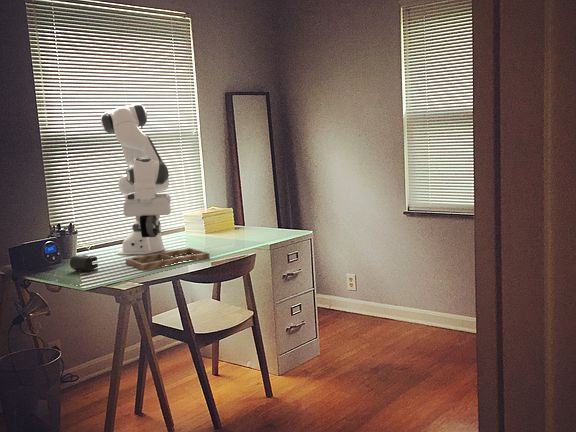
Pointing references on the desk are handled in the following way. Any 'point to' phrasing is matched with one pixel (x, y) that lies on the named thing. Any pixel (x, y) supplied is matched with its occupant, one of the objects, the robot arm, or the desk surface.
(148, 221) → the cpu cooler
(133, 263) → the wooden divided tray
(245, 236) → the desk surface
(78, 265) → the end cap
